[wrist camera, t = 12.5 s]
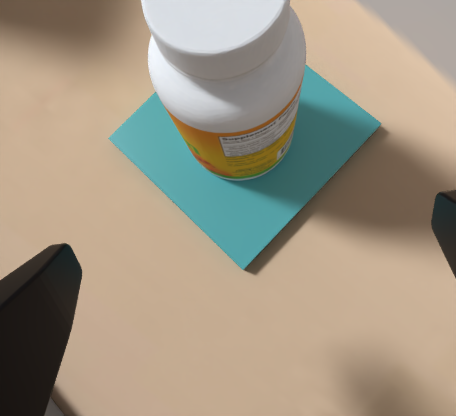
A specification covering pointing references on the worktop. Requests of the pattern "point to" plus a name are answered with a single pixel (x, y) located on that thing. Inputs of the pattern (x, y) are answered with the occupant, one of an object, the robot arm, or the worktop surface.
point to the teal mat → (257, 187)
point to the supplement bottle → (228, 79)
